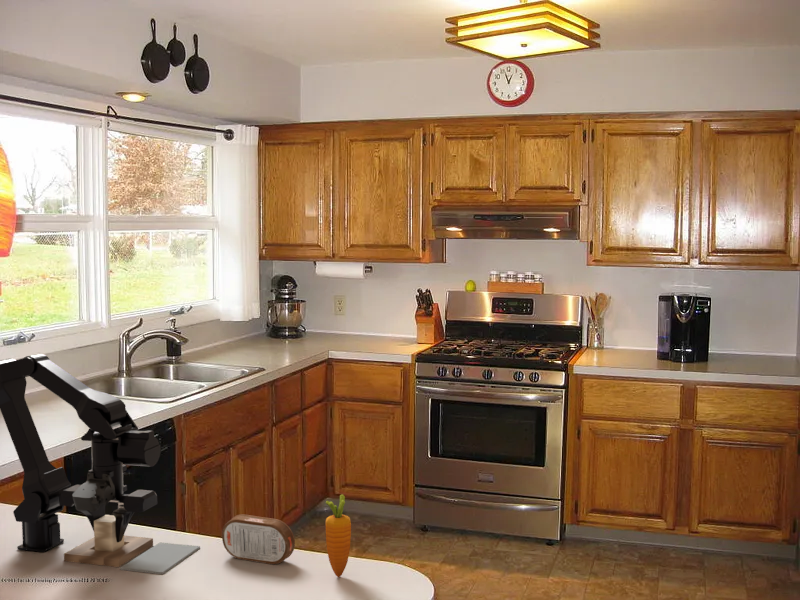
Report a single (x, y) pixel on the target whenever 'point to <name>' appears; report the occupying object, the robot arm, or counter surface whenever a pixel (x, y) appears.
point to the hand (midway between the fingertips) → (109, 540)
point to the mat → (160, 558)
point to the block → (106, 534)
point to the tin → (258, 539)
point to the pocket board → (108, 552)
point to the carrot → (338, 537)
